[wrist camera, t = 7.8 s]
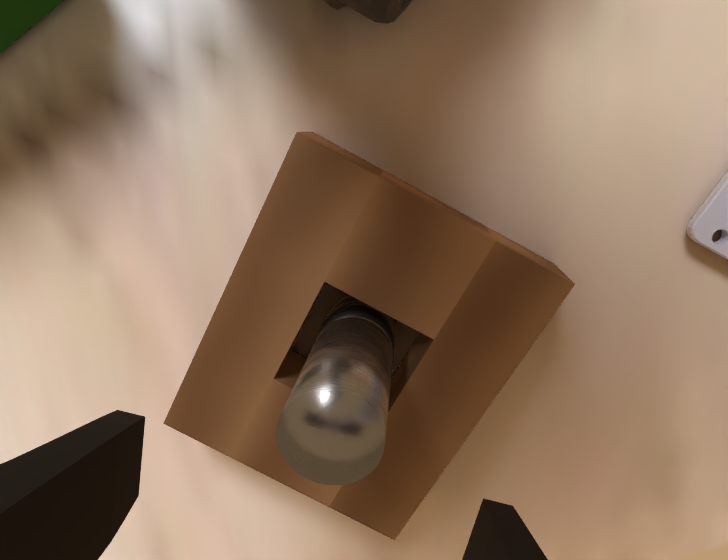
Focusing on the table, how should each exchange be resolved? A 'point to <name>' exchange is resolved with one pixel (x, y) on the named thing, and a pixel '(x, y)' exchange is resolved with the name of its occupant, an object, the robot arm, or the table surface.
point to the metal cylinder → (341, 397)
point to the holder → (381, 291)
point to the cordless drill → (374, 8)
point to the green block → (21, 17)
